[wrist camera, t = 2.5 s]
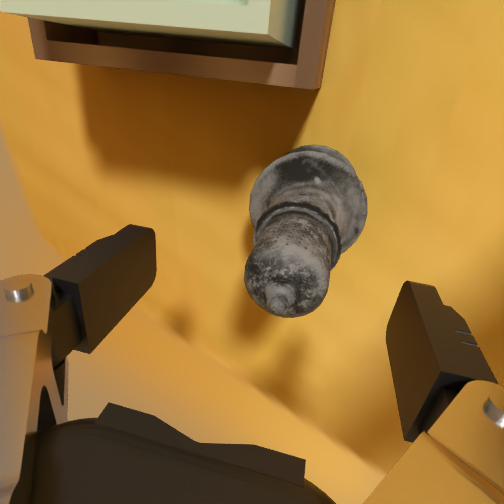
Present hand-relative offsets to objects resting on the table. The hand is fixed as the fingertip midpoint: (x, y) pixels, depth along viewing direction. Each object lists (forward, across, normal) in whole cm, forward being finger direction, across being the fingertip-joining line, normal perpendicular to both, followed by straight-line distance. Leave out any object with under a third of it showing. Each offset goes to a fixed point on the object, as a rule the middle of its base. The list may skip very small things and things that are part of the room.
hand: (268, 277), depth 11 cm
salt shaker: (+11, -1, 0) cm, 11 cm away
